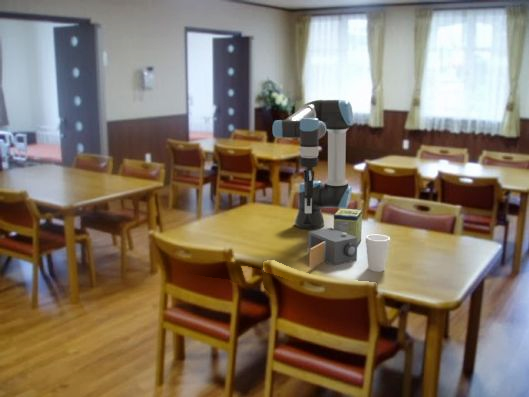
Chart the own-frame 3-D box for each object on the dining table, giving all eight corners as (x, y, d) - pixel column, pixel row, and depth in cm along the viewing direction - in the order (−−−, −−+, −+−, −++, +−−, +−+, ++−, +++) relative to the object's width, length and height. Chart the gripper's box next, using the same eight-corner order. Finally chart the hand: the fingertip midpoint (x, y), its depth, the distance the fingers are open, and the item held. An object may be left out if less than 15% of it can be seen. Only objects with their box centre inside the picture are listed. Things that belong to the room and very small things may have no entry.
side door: (308, 268, 215) (309, 248, 213) (323, 259, 225) (323, 241, 223) (311, 268, 214) (312, 249, 212) (325, 260, 224) (326, 241, 222)
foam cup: (362, 265, 221) (363, 234, 218) (384, 264, 222) (385, 234, 219) (368, 273, 212) (369, 241, 209) (391, 272, 213) (393, 240, 210)
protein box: (361, 241, 254) (362, 209, 250) (355, 250, 239) (356, 217, 236) (339, 239, 257) (340, 207, 254) (332, 248, 243) (333, 215, 239)
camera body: (329, 249, 242) (330, 225, 239) (359, 261, 225) (360, 236, 223) (307, 253, 235) (308, 229, 233) (337, 266, 219) (337, 240, 216)
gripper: (298, 154, 225) (297, 209, 230) (301, 159, 212) (300, 217, 217) (316, 154, 225) (315, 209, 230) (320, 158, 212) (319, 216, 217)
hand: (308, 212), depth 224 cm, fingers closed
